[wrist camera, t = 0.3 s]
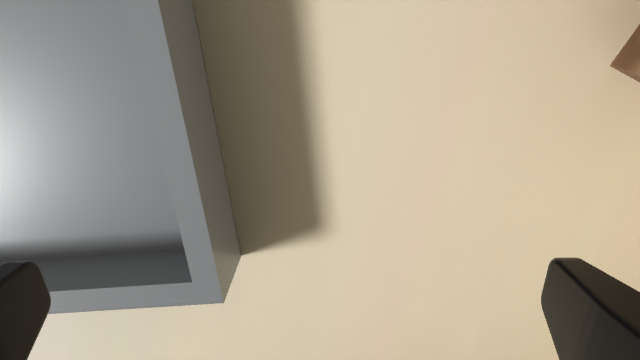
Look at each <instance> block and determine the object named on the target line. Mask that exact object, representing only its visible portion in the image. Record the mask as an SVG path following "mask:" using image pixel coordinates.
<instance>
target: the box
mask: <svg viewBox="0 0 640 360" xmlns="http://www.w3.org/2000/svg"><path fill="white" fill-rule="evenodd" d="M240 258H241V254H240V248H239V243H238V238H237V233H236V227H235V222H234V217H233V212H232V207H231V201H230V196H229V191H228V186H227V180H226V175H225V170H224V165H223V159H222V154H221V149H220V144H219V139H218V133H217V128H216V123H215V118H214V112H213V107H212V102H211V97H210V91H209V86H208V81H207V76H206V70H205V65H204V60H203V55H202V50H201V44H200V39H199V34H198V29H197V23H196V18H195V13H194V8H193V2H192V0H0V265H3V264H5V263H7V262H11V261H32V262H35V263H36V264H37V265H38V266H39V268H40V270H41V273H42V275H43V278H44V281H45V283H46V286H47V288H48V291H49V293H50V296H51V306H50V310H49V312H48V314H54V313H70V312H86V311H102V310H118V309H134V308H150V307H166V306H182V305H198V304H214V303H224V301H225V298H226V295H227V292H228V290H229V287H230V284H231V282H232V279H233V276H234V274H235V271H236V268H237V266H238V263H239V260H240Z"/></svg>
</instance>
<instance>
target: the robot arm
mask: <svg viewBox="0 0 640 360" xmlns="http://www.w3.org/2000/svg"><path fill="white" fill-rule="evenodd" d="M541 304H542V309H543V312H544V315H545V318H546V321H547V324H548V327H549V330H550V333H551V336H552V339H553V342H554V345H555V348H556V351H557V354H558V357H559V360H640V292H638V291H637V290H635V289H633V288H631V287H630V286H628V285H626V284H624V283H622V282H621V281H619V280H617V279H615V278H614V277H612V276H610V275H608V274H606V273H605V272H603V271H601V270H599V269H597V268H596V267H594V266H592V265H590V264H589V263H587V262H585V261H583V260H581V259H579V258H555V259H553V260H551V262H550V264H549V266H548V270H547V275H546V279H545V283H544V287H543V291H542V296H541ZM50 306H51V296H50V293H49V291H48V288H47V286H46V283H45V281H44V278H43V275H42V273H41V270H40V268H39V266H38V265H37V264H36V263H35V262H32V261H11V262H7V263H5V264H3V265H0V360H27V359H28V356H29V354H30V352H31V350H32V348H33V345H34V343H35V341H36V339H37V337H38V334H39V332H40V330H41V328H42V326H43V323H44V321H45V319H46V317H47V315H48V312H49V310H50Z"/></svg>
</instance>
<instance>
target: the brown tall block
mask: <svg viewBox="0 0 640 360" xmlns="http://www.w3.org/2000/svg"><path fill="white" fill-rule="evenodd" d="M610 66H611V67H613V68H615V69H617V70H619V71H620V72H622V73H624V74H626V75H628V76H629V77H631V78H633V79H635V80H637V81H638V82H640V25H639V26H638V28H637V29H636V30H635V32H634V33H633V35H632V36H631V37H630V39H629V40H628V41H627V43H626V44H625V46H624V47H623V48H622V50H621V51H620V53H619V54H618V55H617V57H616V58H615V59H614V61H613V62H612V64H611V65H610Z"/></svg>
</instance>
